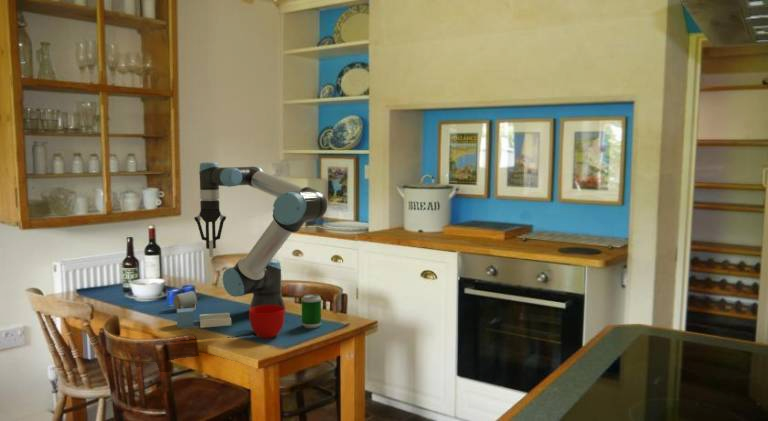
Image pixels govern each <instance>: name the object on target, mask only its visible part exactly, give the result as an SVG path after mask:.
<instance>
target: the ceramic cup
mask: <svg viewBox="0 0 768 421" xmlns="http://www.w3.org/2000/svg"><path fill="white" fill-rule="evenodd" d="M249 308H250V307H249ZM249 308H248V316H249V318H248V319H249V323H250V326H251V328H252V330H253V332H254V334H256V335H257V336H258V337H257V338H259V339H260V338H261V339H271V338H274V337H277V335H278V334H279V333H280V332H281V330H282V328H283V326H284V322H285V316H286V315H285V314H286V313H285V308H286V307H285V308H284V307H282V306H278V305H261V306H256V307H252V308H250V309H249Z"/></svg>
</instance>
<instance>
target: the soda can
mask: <svg viewBox="0 0 768 421" xmlns="http://www.w3.org/2000/svg"><path fill="white" fill-rule="evenodd" d="M301 324H302V326H303V327H304V328H306V329H316V328H319V327H320V325H322V298H321V296H320V295H319V294H316V293H315V294H313V293H312V294H311V293H310V294H309V293H308V294H304V295H303V297H301Z"/></svg>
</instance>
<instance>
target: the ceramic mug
mask: <svg viewBox="0 0 768 421" xmlns="http://www.w3.org/2000/svg"><path fill="white" fill-rule="evenodd" d="M173 305H174V308H175V310H176V311H177V309H186V308H193V313H194V312H196V309H197V306H198V298H197V295H196V293H195V291H194V290H191V291H187V292H186V291H185V292H181V293H178V294H175V295H174V296H173Z"/></svg>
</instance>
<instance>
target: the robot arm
mask: <svg viewBox="0 0 768 421" xmlns="http://www.w3.org/2000/svg"><path fill="white" fill-rule="evenodd" d="M198 173H199V194H200V195H199V197H200V198H199V199H200V207H199V208H200V211H199V214H198V215H197V216H195V217H194V218H193V219H194V220H195V222H196V224H197V227H198V230H199V235H200V238H201V240H202V241H205V248H206V250H207V249H208V252H209V253H208V254H209V255H208V256H209V258H214V249H216V248H217V247H216V246H217V245H216V243H217V242H216V241H217V240H220V239H221V236H222V231H223V228H224V227H223V226H224V223H225V221H226V218H227V216H226V215H224V214H221V211H220V200H219V199H220V186H221V187H228V188H230V187H231V188H232V187H238V186H249V187H251V188H254V189H256V190H259V191H261V192H263V193H266V194H269V196H270V195H271V196H273V197H276V198H275V200H274V202H273V205H272V207H273V209H272V218H273V220H272V221H270V224H268V227H267V228H266V229H265V230H264V232H263V234H261V236H260V237H259V238H258V239H257V241H256V243H255V244H254V246H253V247H252V248H251V249H250V251H249V253H248V254H247V255H246V256H243V257H240V259H238V261H237V262H236V264H235V265H234V266H233V267H229V268H226V269H225V270H224V271H223V273H222V285H223V288H224V290H225V292H226V293H227V294H229V295H230V296H231V297H235V298H236V297H243V296H246V295H249V294H252V298H251V302H250V304H249V308H248V310H249V309H250V308H252V307H256V306H261V305H278V306H282V307H284V308H285V314H286V313H287V312H286V311H287V310H286V304H285V302H284V299H283V296H282V269H281V268H282V266H281V262H280V261H279V260H278V259H273V258H274V257H275V255H277V253H278V252H279V250H280V249H281V248H282V246H283V245H284V244H285V243H286V241H287V240H288V239H289V237H290V236H291V234H293V233H297V232H299V231H300V229H301V228H302V227H303V226H304V225H305V223H307V222H314V221H317V220H319V219H321V218H322V217H324V215H325V214H326V212H327V211H328V200H327V197H326V196H325V194H324V193H322V192H321V191H320V190H317V189H314V188H311V187H309V186H304V187H303V186H300V185H297V184H294V183H292V182H289V181H287V180H284V179H282V178H279V177H276V176H274V175H272V174H269V173H268V172H267V173H266V172H264V170H262V168H261V167H259V166H254V165H253V166H237V167H235V166H233V167H230V166H228V167H219V163H218V162H212V161H211V162H209V161H208V162H205V161H204V162H201V163H199V170H198ZM201 219H202V220H203V221H204V223H205V234H204V231H203V228H202V224H201ZM218 219H219V220H220V221H219V225H218V226H219V227H218V230H217V235H216V222H217V221H218ZM210 223H211V231H212V232H211V236H212V240H211V239H210Z"/></svg>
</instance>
